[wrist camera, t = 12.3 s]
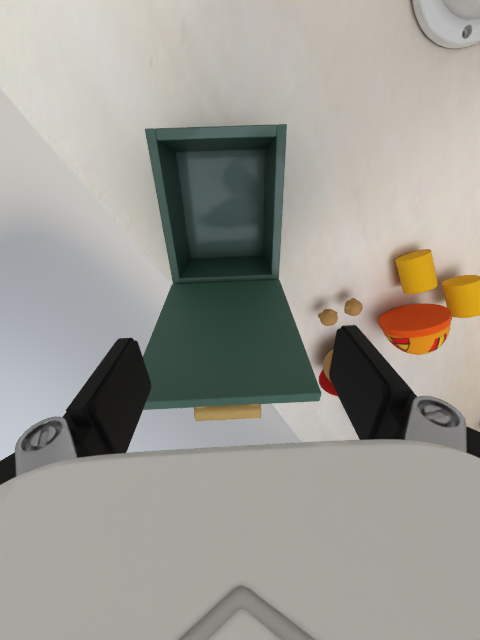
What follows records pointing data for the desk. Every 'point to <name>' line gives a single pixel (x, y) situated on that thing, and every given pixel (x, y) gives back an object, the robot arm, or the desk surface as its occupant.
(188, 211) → the green storage box
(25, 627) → the robot arm
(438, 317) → the toy set
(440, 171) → the desk surface
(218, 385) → the lid
